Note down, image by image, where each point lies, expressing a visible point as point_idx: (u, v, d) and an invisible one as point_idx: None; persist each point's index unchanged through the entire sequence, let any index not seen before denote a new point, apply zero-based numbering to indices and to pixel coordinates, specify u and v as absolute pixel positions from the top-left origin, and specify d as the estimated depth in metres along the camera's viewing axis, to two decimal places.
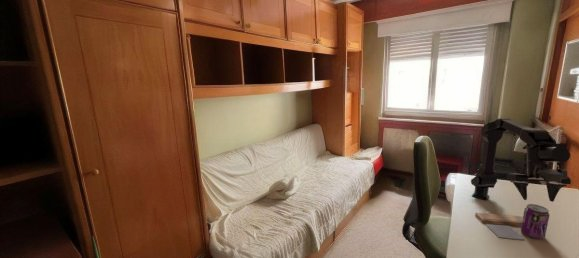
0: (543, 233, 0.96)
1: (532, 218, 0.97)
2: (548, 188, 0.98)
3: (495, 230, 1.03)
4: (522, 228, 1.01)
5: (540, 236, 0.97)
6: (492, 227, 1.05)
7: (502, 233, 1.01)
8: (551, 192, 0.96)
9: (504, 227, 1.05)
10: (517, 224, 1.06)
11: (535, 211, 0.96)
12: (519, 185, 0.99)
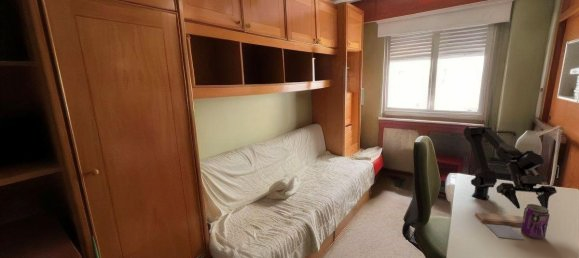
0: (543, 233, 0.96)
1: (532, 218, 0.97)
2: (539, 200, 1.03)
3: (495, 230, 1.03)
4: (522, 228, 1.01)
5: (540, 236, 0.97)
6: (492, 227, 1.05)
7: (502, 233, 1.01)
8: (543, 202, 1.01)
9: (504, 227, 1.05)
10: (517, 224, 1.06)
11: (535, 211, 0.96)
12: (510, 196, 1.06)
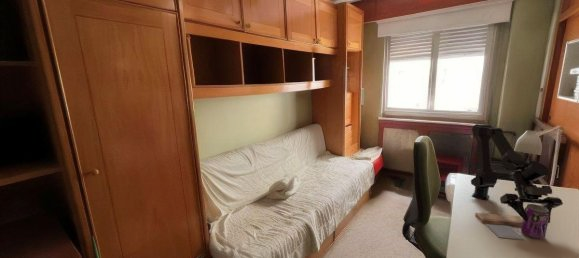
0: (543, 233, 0.96)
1: (532, 218, 0.97)
2: None
3: (495, 230, 1.03)
4: (522, 228, 1.01)
5: (540, 236, 0.97)
6: (492, 227, 1.05)
7: (502, 233, 1.01)
8: None
9: (504, 227, 1.05)
10: (517, 224, 1.06)
11: (535, 211, 0.96)
12: (517, 207, 1.02)
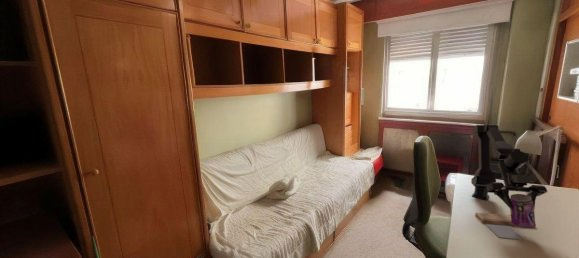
0: (532, 222, 0.96)
1: (518, 209, 0.97)
2: None
3: (495, 230, 1.03)
4: (512, 220, 1.01)
5: (530, 225, 0.96)
6: (492, 227, 1.05)
7: (502, 233, 1.01)
8: None
9: (504, 227, 1.05)
10: None
11: (518, 201, 0.97)
12: (502, 195, 1.03)
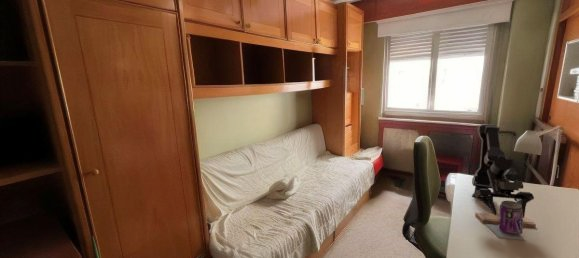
0: (519, 229, 0.98)
1: (507, 215, 0.99)
2: None
3: (495, 230, 1.03)
4: (499, 225, 1.02)
5: (516, 232, 0.98)
6: (492, 227, 1.05)
7: (502, 233, 1.01)
8: None
9: None
10: None
11: (508, 208, 0.98)
12: (487, 202, 1.04)
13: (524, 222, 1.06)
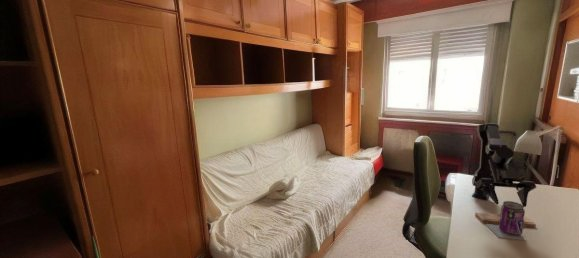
0: (519, 229, 0.98)
1: (508, 215, 0.98)
2: (519, 196, 1.01)
3: (495, 230, 1.03)
4: (500, 225, 1.02)
5: (517, 232, 0.98)
6: (492, 227, 1.05)
7: (502, 233, 1.01)
8: (522, 197, 0.99)
9: None
10: None
11: (510, 208, 0.98)
12: (489, 191, 1.03)
13: (524, 222, 1.06)
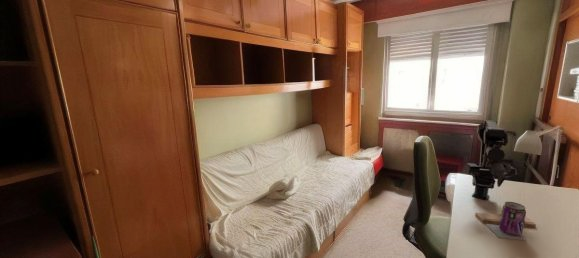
0: (520, 230, 0.98)
1: (509, 215, 0.98)
2: (498, 176, 1.18)
3: (495, 230, 1.03)
4: (500, 225, 1.02)
5: (517, 233, 0.98)
6: (492, 227, 1.05)
7: (502, 233, 1.01)
8: (499, 179, 1.16)
9: None
10: None
11: (512, 208, 0.98)
12: (473, 173, 1.19)
13: (524, 222, 1.06)
